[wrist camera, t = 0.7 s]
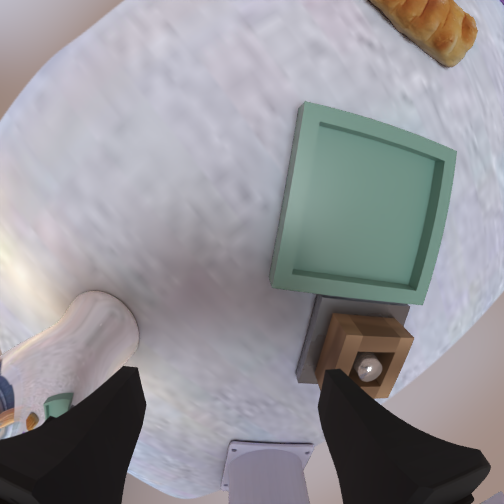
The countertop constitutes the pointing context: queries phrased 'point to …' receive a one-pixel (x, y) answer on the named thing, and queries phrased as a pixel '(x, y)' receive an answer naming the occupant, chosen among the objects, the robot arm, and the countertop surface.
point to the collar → (365, 349)
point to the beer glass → (64, 362)
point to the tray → (361, 209)
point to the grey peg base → (319, 325)
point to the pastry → (433, 26)
